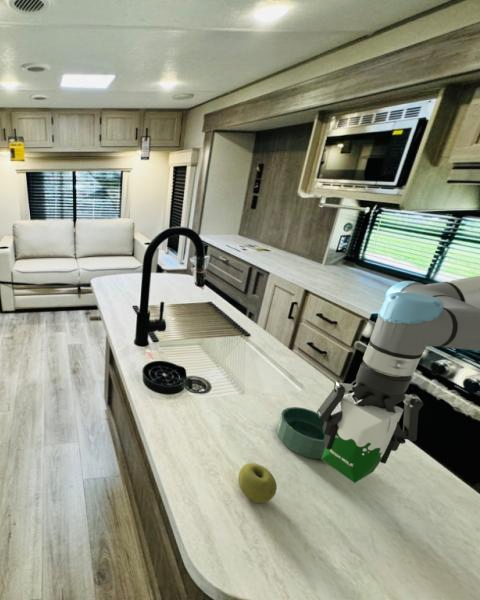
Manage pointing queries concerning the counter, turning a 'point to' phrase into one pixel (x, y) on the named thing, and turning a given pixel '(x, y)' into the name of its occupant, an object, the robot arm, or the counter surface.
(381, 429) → the soya milk
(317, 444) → the green bowl
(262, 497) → the apple
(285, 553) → the counter surface
